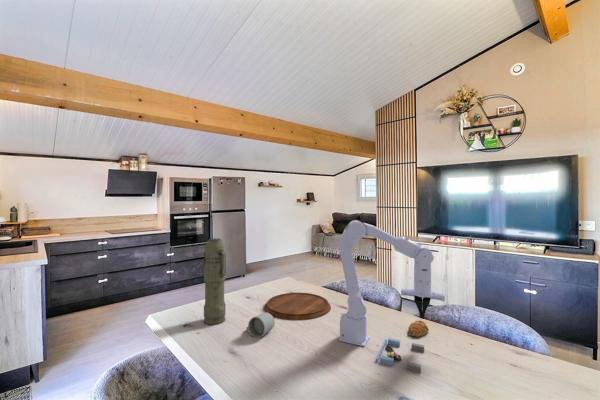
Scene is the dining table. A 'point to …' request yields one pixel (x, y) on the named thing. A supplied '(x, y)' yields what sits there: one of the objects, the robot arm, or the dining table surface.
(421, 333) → the pastry
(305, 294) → the cutting board
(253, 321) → the ceramic mug
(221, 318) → the thermos
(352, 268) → the robot arm
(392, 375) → the dining table surface
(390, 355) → the composite cable
